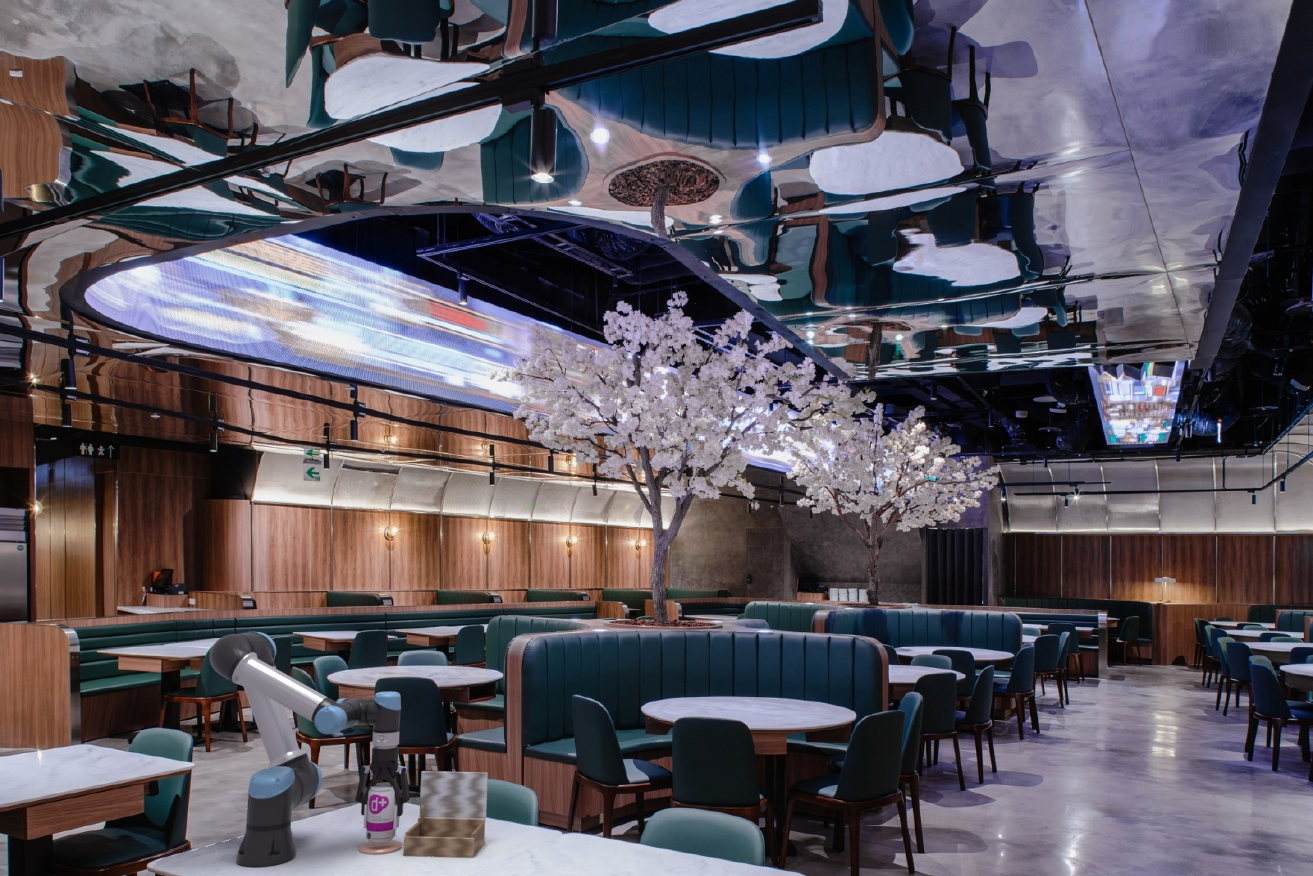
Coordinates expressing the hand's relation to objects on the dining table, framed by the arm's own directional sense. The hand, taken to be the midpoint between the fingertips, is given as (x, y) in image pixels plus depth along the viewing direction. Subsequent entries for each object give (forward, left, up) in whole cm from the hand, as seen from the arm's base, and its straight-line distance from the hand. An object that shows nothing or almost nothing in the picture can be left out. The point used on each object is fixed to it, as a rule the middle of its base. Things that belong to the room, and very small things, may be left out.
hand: (381, 827), depth 260 cm
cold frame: (+19, 0, -6) cm, 20 cm away
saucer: (0, 0, -6) cm, 6 cm away
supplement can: (0, 0, -3) cm, 3 cm away
